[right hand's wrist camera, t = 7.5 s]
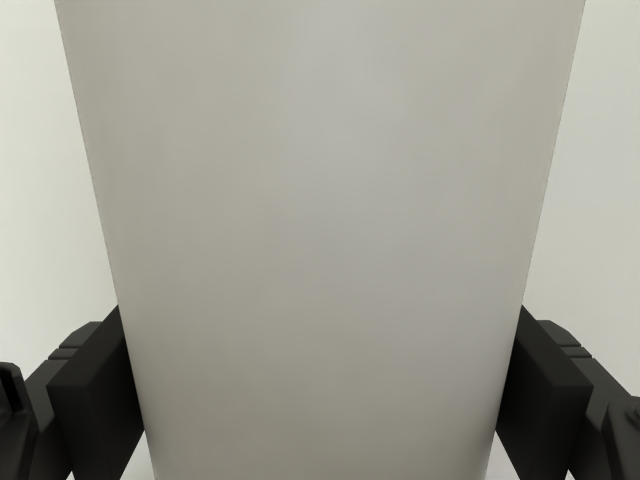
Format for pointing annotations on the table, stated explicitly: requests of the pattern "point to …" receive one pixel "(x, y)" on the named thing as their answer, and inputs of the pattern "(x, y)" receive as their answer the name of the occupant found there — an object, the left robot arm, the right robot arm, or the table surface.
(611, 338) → the table surface
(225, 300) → the white cylinder
